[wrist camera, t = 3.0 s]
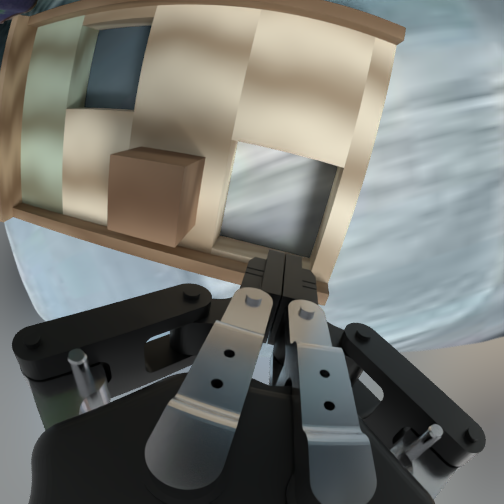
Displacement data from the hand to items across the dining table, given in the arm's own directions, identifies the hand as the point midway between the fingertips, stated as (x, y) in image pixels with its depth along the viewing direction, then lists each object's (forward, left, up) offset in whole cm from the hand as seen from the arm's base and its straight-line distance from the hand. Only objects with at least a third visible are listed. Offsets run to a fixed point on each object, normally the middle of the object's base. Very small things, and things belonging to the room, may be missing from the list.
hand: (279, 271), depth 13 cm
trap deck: (-5, -11, -10) cm, 16 cm away
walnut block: (0, -9, -7) cm, 11 cm away
